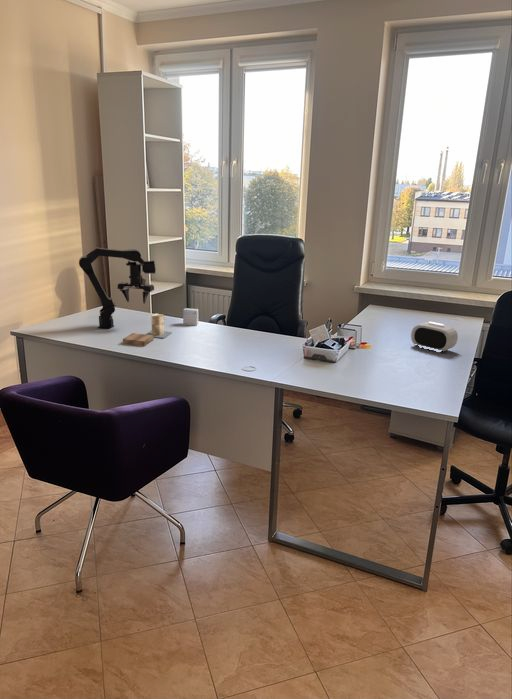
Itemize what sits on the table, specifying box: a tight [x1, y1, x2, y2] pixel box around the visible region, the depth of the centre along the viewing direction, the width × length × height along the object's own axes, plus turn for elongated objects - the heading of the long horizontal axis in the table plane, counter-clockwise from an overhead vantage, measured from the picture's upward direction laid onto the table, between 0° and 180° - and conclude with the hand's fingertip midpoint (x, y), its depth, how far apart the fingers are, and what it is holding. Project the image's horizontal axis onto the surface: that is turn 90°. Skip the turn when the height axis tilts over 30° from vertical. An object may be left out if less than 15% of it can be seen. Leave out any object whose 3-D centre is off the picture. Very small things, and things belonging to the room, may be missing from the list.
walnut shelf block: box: [122, 332, 154, 347], centre depth 246 cm, size 11×11×2 cm
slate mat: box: [145, 329, 173, 340], centre depth 260 cm, size 11×11×1 cm
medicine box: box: [182, 307, 199, 327], centre depth 282 cm, size 8×4×9 cm, turn 84°
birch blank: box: [151, 313, 165, 335], centre depth 258 cm, size 4×4×10 cm
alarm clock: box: [410, 321, 458, 352], centre depth 256 cm, size 21×10×13 cm, turn 47°
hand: (136, 302), depth 270 cm, fingers open, 9 cm apart
